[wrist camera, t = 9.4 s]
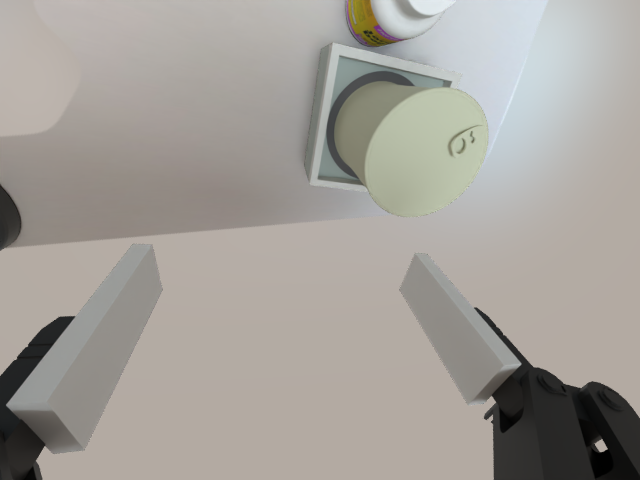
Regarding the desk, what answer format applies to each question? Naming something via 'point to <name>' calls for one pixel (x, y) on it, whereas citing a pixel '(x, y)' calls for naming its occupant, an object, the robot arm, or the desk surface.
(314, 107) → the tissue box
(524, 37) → the desk surface
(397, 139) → the can
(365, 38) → the supplement bottle
